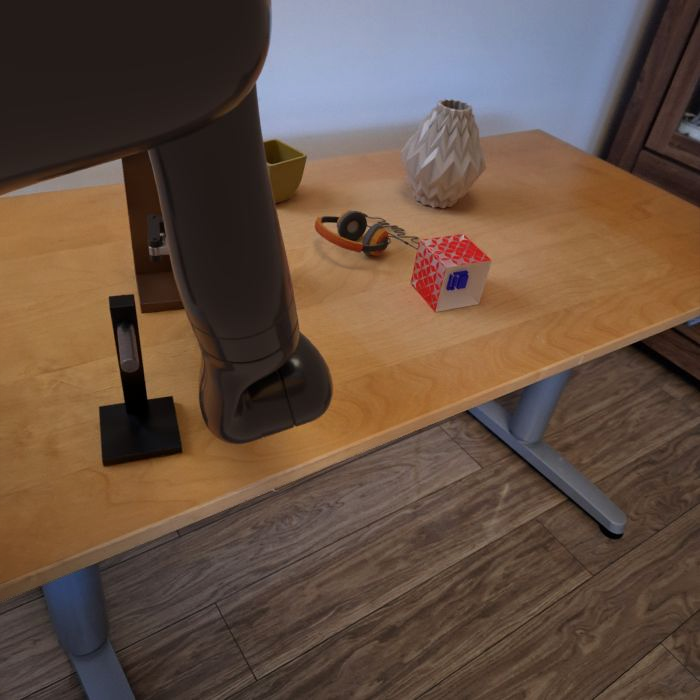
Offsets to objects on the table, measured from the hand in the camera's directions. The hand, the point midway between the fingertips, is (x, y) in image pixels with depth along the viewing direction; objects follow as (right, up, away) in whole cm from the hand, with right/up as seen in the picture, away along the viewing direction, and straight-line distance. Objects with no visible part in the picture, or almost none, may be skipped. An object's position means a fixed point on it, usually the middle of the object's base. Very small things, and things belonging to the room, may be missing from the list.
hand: (201, 202), depth 73 cm
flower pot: (+3, +11, +42) cm, 44 cm away
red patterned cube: (+32, -9, +24) cm, 41 cm away
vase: (+34, +12, +50) cm, 62 cm away
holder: (-6, -26, -5) cm, 27 cm away
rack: (-5, -8, +17) cm, 20 cm away
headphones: (+20, 0, +33) cm, 39 cm away
